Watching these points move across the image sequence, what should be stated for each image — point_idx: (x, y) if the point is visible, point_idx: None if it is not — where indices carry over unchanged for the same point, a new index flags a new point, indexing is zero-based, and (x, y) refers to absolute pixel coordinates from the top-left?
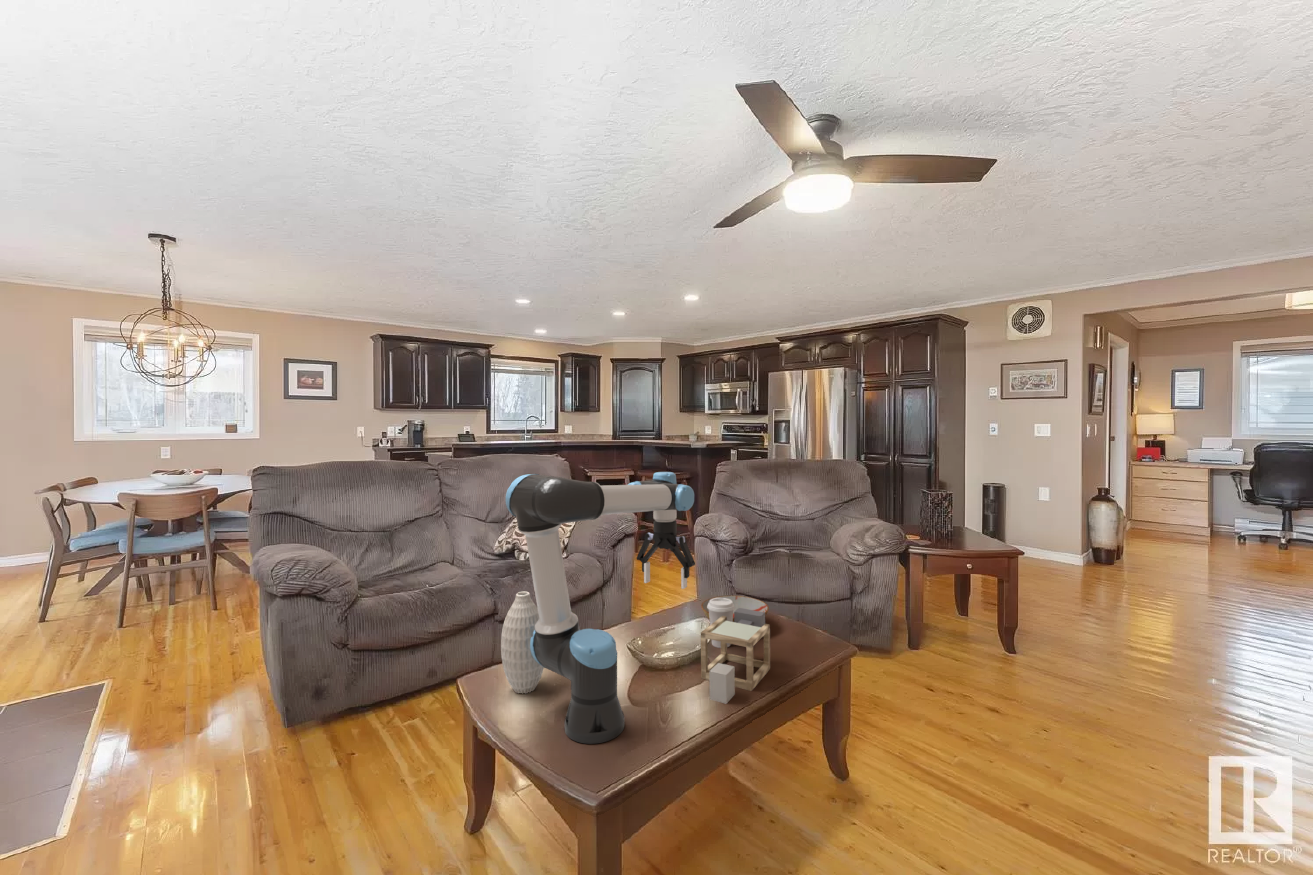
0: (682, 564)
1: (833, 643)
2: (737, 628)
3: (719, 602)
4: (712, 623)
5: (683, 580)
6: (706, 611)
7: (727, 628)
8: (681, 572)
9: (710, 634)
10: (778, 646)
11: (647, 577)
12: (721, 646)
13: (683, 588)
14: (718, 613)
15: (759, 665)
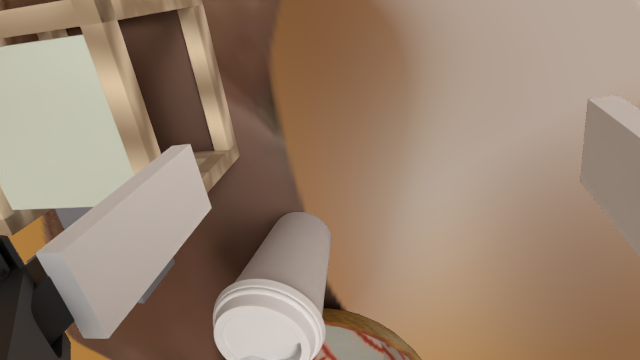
0: (6, 294)
1: (103, 350)
2: (54, 154)
3: (264, 336)
4: (138, 131)
5: (130, 180)
6: (383, 339)
7: (77, 132)
8: (96, 220)
9: (46, 3)
10: (176, 289)
11: (608, 151)
12: (216, 160)
13: (171, 149)
14: (249, 278)
15: None
